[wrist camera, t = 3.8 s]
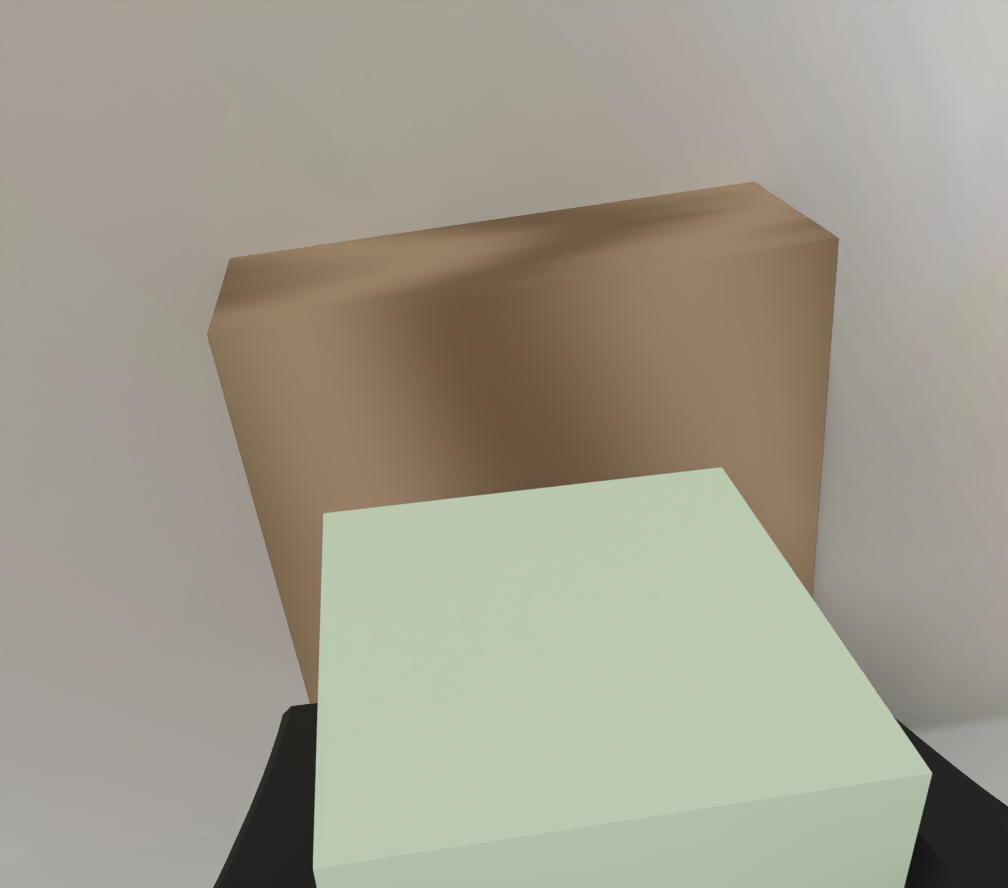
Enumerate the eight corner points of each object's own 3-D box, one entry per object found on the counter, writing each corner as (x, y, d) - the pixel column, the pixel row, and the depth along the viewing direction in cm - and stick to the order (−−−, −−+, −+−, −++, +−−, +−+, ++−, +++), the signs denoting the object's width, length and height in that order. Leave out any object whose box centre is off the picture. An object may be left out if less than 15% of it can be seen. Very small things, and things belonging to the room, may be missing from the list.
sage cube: (721, 466, 12) (932, 772, 8) (700, 750, 15) (851, 1104, 10) (323, 513, 12) (313, 869, 7) (369, 799, 14) (381, 1193, 10)
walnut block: (746, 177, 19) (838, 238, 15) (736, 581, 24) (804, 695, 20) (231, 252, 18) (207, 334, 15) (334, 654, 23) (333, 786, 20)
